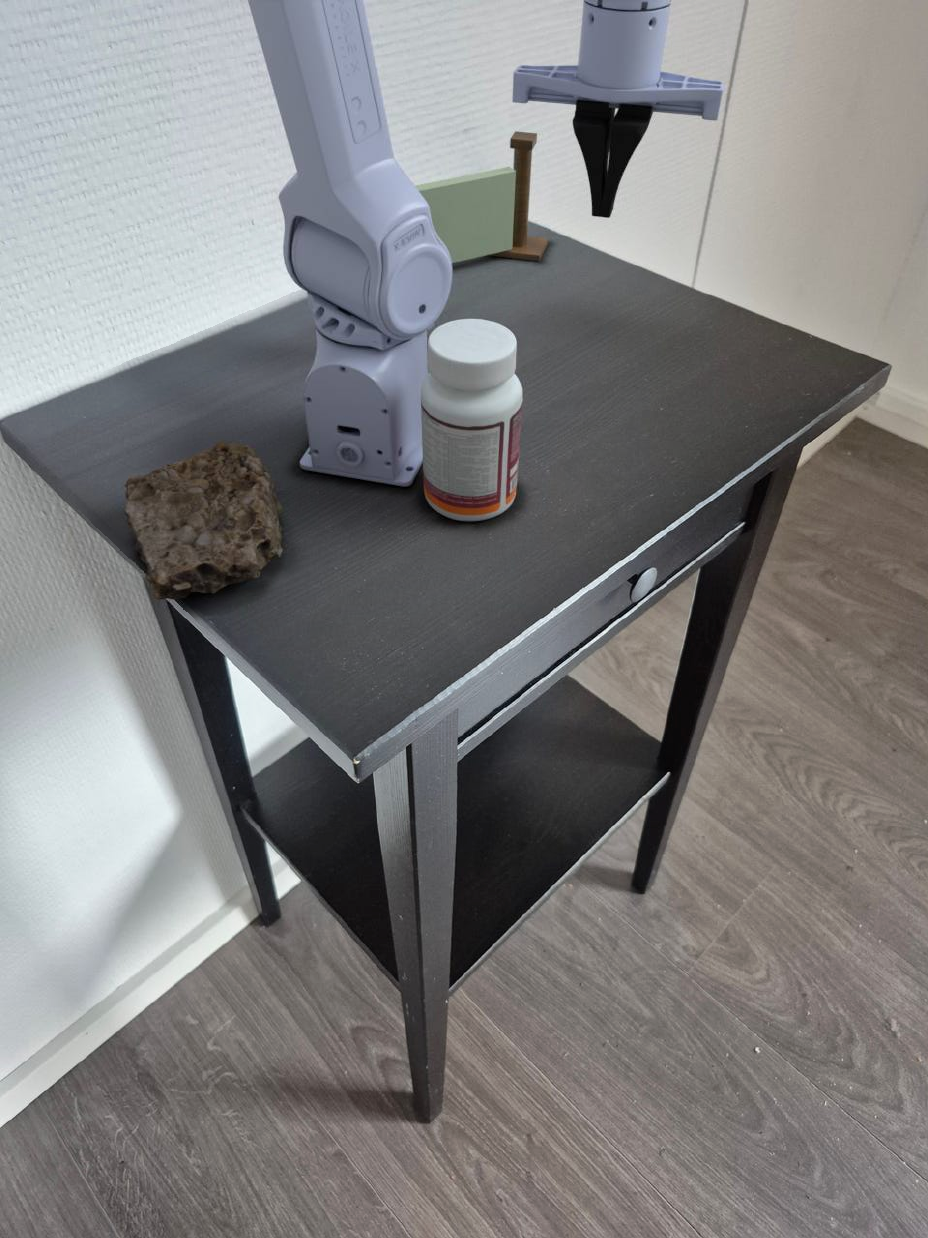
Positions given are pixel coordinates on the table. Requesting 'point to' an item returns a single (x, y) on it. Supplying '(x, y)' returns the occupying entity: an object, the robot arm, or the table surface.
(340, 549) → the table surface
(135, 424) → the table surface
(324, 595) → the table surface
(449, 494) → the pill bottle
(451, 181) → the door
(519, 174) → the wooden stand
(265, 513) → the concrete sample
